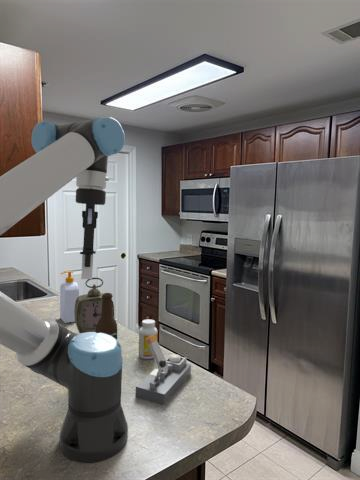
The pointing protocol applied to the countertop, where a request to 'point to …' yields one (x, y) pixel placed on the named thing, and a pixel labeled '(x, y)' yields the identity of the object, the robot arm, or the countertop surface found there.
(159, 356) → the paddle lever
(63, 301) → the soap bottle
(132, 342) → the countertop surface
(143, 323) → the supplement bottle
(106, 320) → the beer bottle
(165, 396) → the switch panel
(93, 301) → the tabletop clock
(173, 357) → the push button
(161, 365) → the toggle switch
